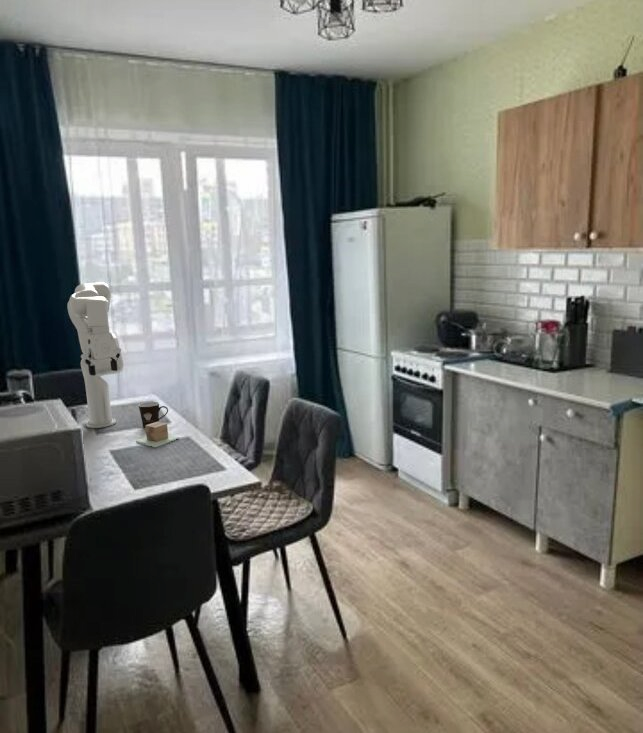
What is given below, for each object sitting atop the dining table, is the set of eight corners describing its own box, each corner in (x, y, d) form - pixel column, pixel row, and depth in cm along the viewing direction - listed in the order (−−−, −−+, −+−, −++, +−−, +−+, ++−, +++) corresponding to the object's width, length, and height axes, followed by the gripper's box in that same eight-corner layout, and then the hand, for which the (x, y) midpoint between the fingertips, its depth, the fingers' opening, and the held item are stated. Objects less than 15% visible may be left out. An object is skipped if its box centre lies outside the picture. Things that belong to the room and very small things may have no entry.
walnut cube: (146, 439, 238) (145, 425, 237) (158, 435, 243) (157, 421, 242) (156, 442, 235) (154, 427, 233) (168, 438, 239) (167, 423, 238)
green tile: (136, 442, 238) (135, 440, 238) (160, 434, 247) (160, 432, 247) (155, 447, 231) (155, 445, 230) (179, 439, 240) (179, 437, 240)
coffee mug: (136, 428, 257) (134, 406, 255) (149, 422, 265) (147, 401, 263) (158, 430, 253) (156, 407, 251) (170, 424, 261) (168, 402, 259)
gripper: (84, 333, 223) (89, 377, 227) (123, 327, 237) (128, 369, 240) (73, 332, 228) (78, 376, 231) (112, 326, 241) (116, 368, 244)
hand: (103, 372), depth 236 cm, fingers open, 9 cm apart
